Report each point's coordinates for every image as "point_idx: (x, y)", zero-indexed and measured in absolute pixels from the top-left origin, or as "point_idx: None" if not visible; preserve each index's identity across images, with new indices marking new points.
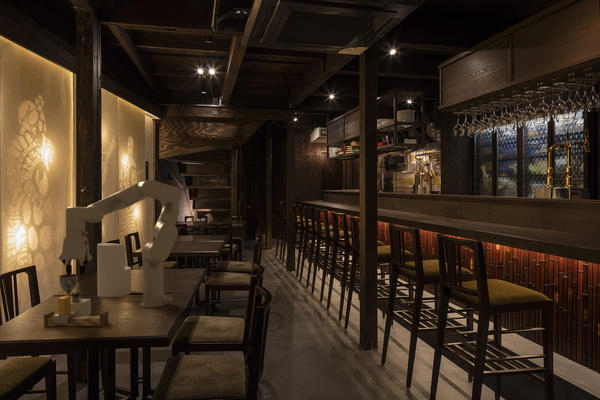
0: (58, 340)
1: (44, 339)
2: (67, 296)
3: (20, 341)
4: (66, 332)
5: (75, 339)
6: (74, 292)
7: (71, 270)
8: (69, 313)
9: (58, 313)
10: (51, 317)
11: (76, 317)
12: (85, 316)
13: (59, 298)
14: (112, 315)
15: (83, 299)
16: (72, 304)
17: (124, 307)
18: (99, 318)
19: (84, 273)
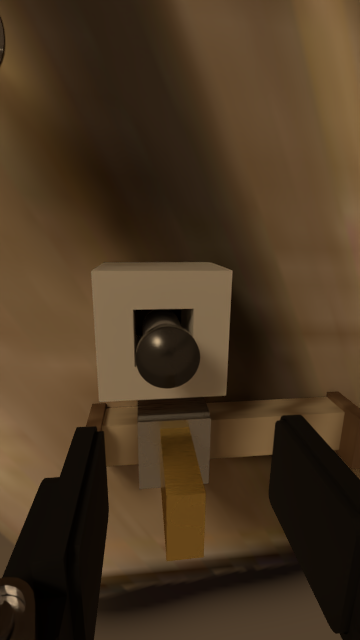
0: (241, 567)
1: (190, 564)
2: (195, 511)
3: (122, 585)
4: (228, 504)
5: (290, 556)
6: (147, 342)
7: (97, 473)
8: (197, 451)
9: (140, 453)
10: (108, 446)
11: (228, 441)
12: (262, 426)
13: (170, 556)
14: (325, 290)
15: (189, 288)
16: (175, 397)
17: (345, 126)
18: (334, 449)
19: (297, 416)
